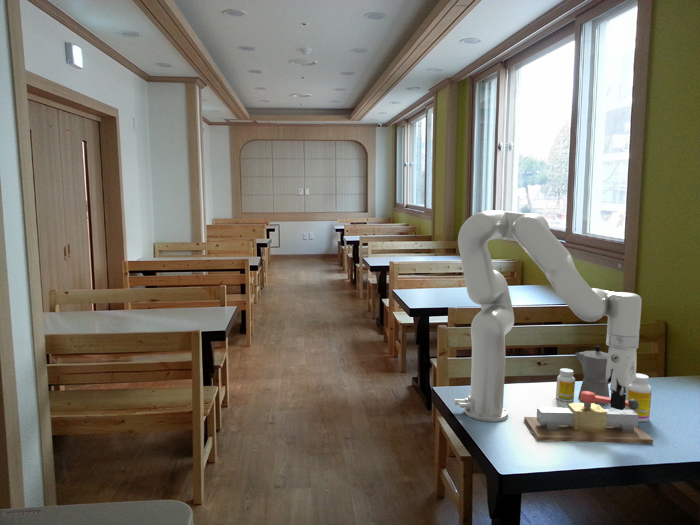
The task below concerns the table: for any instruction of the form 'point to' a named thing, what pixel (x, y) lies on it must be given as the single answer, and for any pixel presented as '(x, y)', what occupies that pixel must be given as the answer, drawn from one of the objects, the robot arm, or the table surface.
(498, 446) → the table surface
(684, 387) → the table surface
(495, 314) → the robot arm
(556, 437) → the plank
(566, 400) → the supplement bottle
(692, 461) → the table surface
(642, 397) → the supplement bottle
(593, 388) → the coffeepot
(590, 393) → the lever
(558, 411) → the valve
